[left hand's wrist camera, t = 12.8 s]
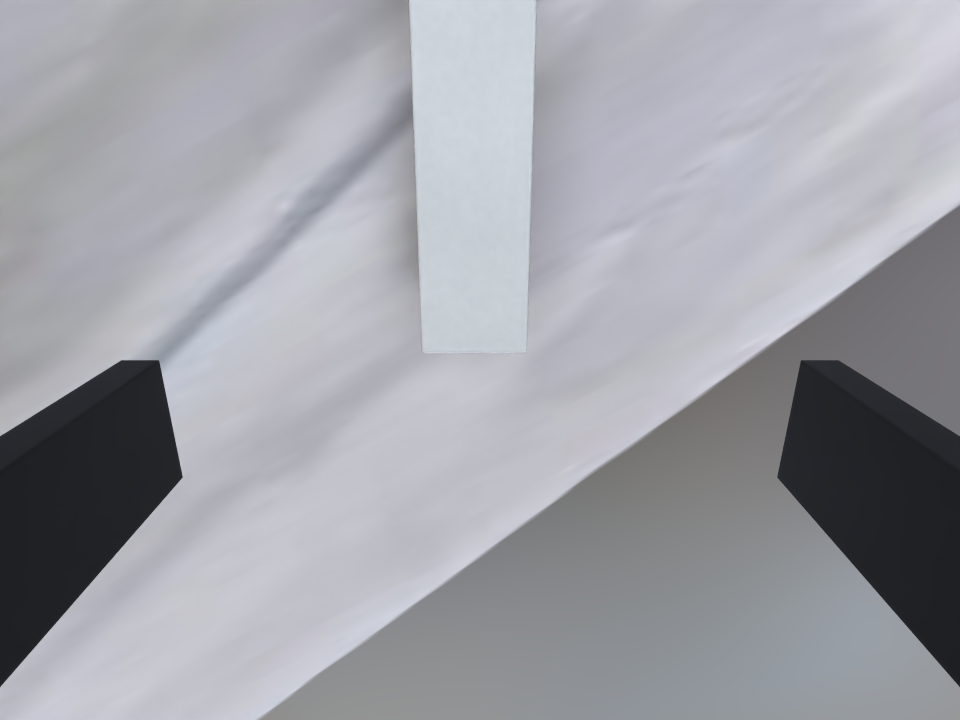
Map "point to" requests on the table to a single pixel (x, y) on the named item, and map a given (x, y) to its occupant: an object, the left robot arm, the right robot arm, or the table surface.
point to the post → (473, 170)
